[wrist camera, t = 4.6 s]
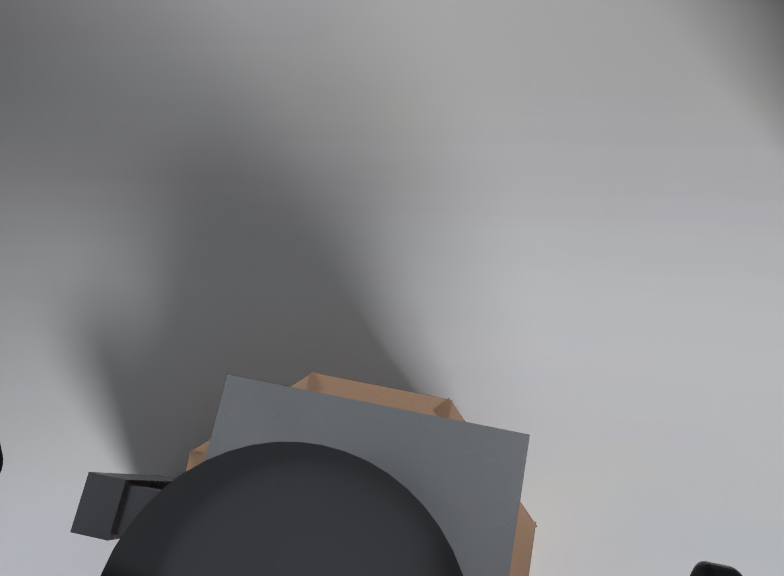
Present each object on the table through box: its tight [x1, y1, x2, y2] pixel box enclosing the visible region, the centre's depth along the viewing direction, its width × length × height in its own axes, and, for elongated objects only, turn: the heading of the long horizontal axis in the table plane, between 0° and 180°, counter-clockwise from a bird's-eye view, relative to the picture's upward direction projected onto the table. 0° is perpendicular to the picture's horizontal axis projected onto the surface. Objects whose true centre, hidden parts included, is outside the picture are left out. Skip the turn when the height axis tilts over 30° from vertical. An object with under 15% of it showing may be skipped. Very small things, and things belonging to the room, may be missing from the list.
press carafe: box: [71, 372, 537, 576], centre depth 16 cm, size 7×9×6 cm
